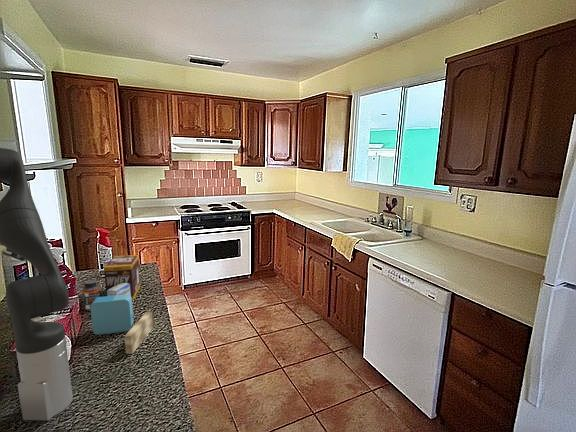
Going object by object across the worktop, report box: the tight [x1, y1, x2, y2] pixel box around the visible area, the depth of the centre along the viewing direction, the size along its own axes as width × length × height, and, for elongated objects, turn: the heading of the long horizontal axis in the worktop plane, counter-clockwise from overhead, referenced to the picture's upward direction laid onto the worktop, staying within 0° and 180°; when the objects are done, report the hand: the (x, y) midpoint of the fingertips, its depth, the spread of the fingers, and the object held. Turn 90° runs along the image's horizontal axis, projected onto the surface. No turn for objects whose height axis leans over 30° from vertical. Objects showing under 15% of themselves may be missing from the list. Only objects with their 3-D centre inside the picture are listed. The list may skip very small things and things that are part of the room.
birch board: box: [124, 310, 155, 355], centre depth 106 cm, size 16×2×6 cm, turn 0°
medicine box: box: [107, 283, 131, 296], centre depth 128 cm, size 8×4×9 cm, turn 169°
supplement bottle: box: [81, 279, 101, 312], centre depth 126 cm, size 6×6×11 cm
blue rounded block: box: [90, 294, 134, 336], centre depth 111 cm, size 12×4×12 cm, turn 106°
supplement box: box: [103, 254, 141, 301], centre depth 139 cm, size 10×15×16 cm
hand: (43, 264), depth 107 cm, fingers closed
